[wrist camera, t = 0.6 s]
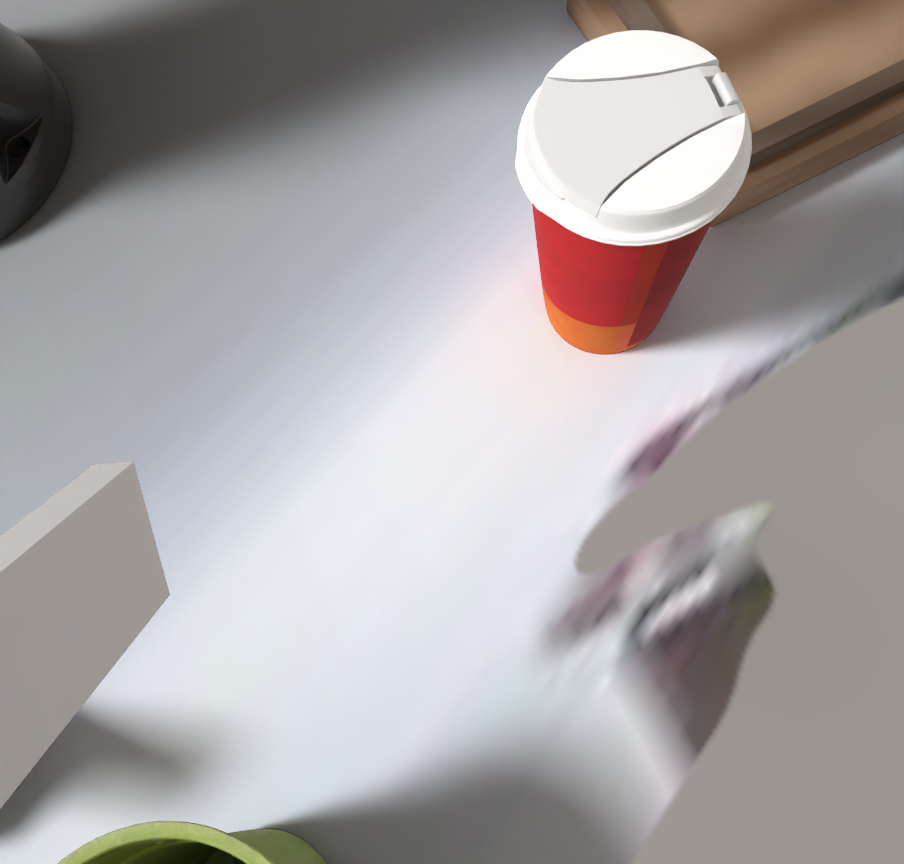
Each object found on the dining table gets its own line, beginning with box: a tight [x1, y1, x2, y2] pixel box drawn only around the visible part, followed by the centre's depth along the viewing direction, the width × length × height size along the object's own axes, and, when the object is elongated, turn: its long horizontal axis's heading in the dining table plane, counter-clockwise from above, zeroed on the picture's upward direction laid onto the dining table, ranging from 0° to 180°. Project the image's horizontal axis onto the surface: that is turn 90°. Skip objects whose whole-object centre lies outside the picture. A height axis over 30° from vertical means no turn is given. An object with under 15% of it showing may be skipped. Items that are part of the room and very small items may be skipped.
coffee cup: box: [515, 30, 752, 354], centre depth 35 cm, size 8×8×15 cm
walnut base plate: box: [567, 0, 904, 227], centre depth 43 cm, size 16×16×4 cm
